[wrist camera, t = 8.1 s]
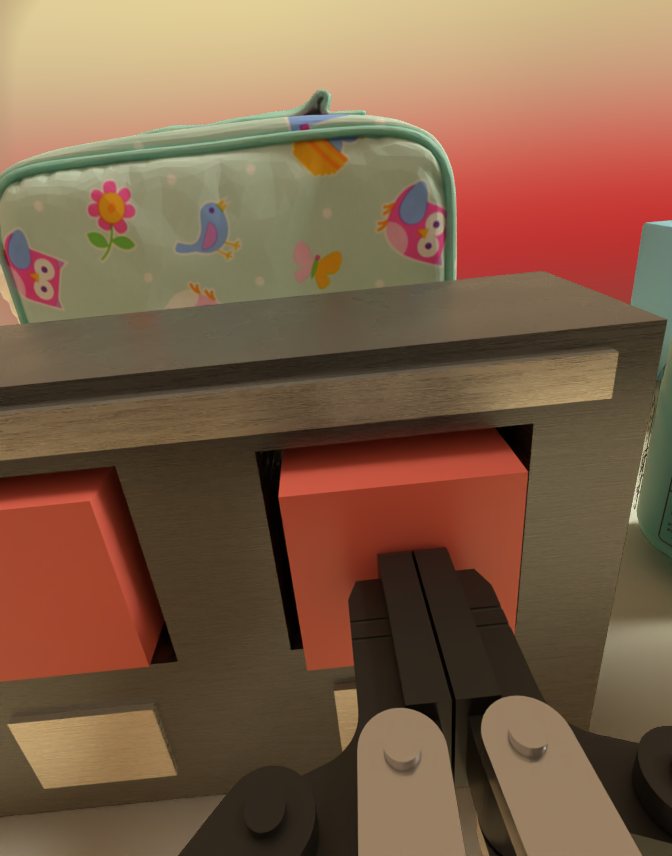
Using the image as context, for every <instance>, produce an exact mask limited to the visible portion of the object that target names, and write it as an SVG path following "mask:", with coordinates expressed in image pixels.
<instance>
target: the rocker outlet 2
mask: <svg viewBox="0 0 672 856" xmlns="http://www.w3.org/2000/svg"><path fill="white" fill-rule="evenodd" d="M527 481H528V471H527V470H526V468H525V467H524V466H523V464H522V463H521V462H520V460H519V459H518V458H517V456H516V455H515V454H514V452H513V451H512V450H511V448H510V447H509V446H508V444H507V443H506V442H505V440H504V439H503V438H502V436H501V435H500V433H499V432H498V431H497V429H496V428H495V427H494V428H484V429H475V430H465V431H455V432H445V433H435V434H425V435H416V436H406V437H396V438H386V439H376V440H366V441H357V442H347V443H337V444H327V445H317V446H307V447H297V448H288V449H283V457H282V467H281V476H280V486H279V496H278V498H279V504H280V510H281V516H282V522H283V528H284V534H285V540H286V546H287V552H288V558H289V564H290V570H291V576H292V582H293V588H294V594H295V600H296V606H297V612H298V618H299V624H300V630H301V636H302V642H303V648H304V654H305V660H306V666H307V671H309V670H319V669H328V668H338V667H348V666H354V660H353V649H352V638H351V628H350V617H349V606H348V599H349V596H350V594H351V592H352V589H353V587H354V585H355V582H356V581H361V580H371V579H378V567H377V554H382V553H392V552H401V551H410V552H411V553H412V550H419V549H428V548H438V547H446V548H447V550H448V552H449V555H450V557H451V560H452V563H453V565H454V568H455V570H465V569H475V570H476V571H477V572H478V573H479V574H481V575H482V576H483V577H484V578H485V579H486V580H487V581H488V582H489V583H490V584H491V585H492V587H493V589H494V591H495V593H496V596H497V598H498V600H499V602H500V604H501V609H503V611H504V613H505V615H506V618H507V620H508V623H509V627H511V629H512V631H513V633H514V635H515V623H516V611H517V600H518V588H519V576H520V564H521V552H522V540H523V529H524V517H525V505H526V493H527Z"/></svg>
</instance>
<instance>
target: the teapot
mask: <svg viewBox="0 0 672 856" xmlns="http://www.w3.org/2000/svg"><path fill="white" fill-rule="evenodd" d="M631 305H632V306H634V307H637V308H640V309H642V310H645V311H647V312H650V313H652V314H655V315H658V316H660V317H663V318H665V319H668V320H667V325H666V331H665V336H664V341H663V346H662V351H661V356H660V362H659V367H658V372H657V377H656V380H658V381H662V376H663V371H665V369H663V367H664V366H665V364H666V362H667V357H668V351H669V346H670V341H671V336H672V220H671V221H659V222H648V223H645V224H644V226H643V229H642V236H641V242H640V248H639V255H638V262H637V267H636V274H635V280H634V286H633V292H632V299H631ZM665 367H666V366H665ZM662 369H663V370H662ZM661 371H662V372H661ZM660 373H661V374H660ZM659 375H660V376H659ZM658 377H659V378H658Z"/></svg>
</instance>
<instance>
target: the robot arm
mask: <svg viewBox="0 0 672 856" xmlns="http://www.w3.org/2000/svg"><path fill="white" fill-rule="evenodd" d="M377 567H378V579H371V580H361V581H356V582H355V585H354V587H353V589H352V592H351V594H350V596H349V599H348V606H349V617H350V628H351V638H352V649H353V660H354V670H355V681H356V692H357V702H358V724H357V728H356V731H355V734H354V736H353V738H352V740H351V742H350V743H349V745H348V746H347V747H346V749H345V750H344V751H343V752H342V753H341V754H340V755H338V756H337V757H336V758H335V759H333V760H332V761H330V762H328V763H326V764H325V765H323V766H320V767H318V768H316V769H314V770H312V771H310V772H308V773H306V774H304V775H302V776H301V775H299V774H298V773H297V772H295V771H294V770H292V769H290V768H287V767H284V766H266V767H261V768H258V769H256V770H254V771H252V772H250V773H248V774H247V775H245V776H244V777H243V778H241V779H240V780H239V781H238V782H237V783H236V784H235V785H234V786H233V787H232V789H231V790H230V791H229V792H228V794H227V795H226V796H225V797H224V799H223V800H222V801H221V802H220V804H219V805H218V806H217V807H216V809H215V810H214V811H213V813H212V814H211V815H210V816H209V818H208V819H207V820H206V821H205V823H204V824H203V825H202V826H201V828H200V829H199V830H198V831H197V833H196V834H195V835H194V836H193V838H192V839H191V840H190V841H189V843H188V844H187V845H186V846H185V848H184V849H183V850H182V851H181V853H180V854H179V855H178V856H466V854H465V848H464V842H463V836H462V830H461V824H460V818H459V812H458V806H457V800H456V794H455V789H454V788H462V787H470V790H471V794H472V797H473V801H474V805H475V809H476V813H477V821H476V831H477V838H478V842H479V845H480V848H481V851H482V854H483V856H672V726H662V727H657V728H654V729H652V730H650V731H649V732H647V733H646V734H645V735H644V736H643V737H642V738H641V741H640V743H635V742H630V741H625V740H621V739H616V738H611V737H606V736H602V735H597V734H593V733H590V732H587V731H584V730H582V729H579V728H578V727H576V726H574V725H572V724H570V723H569V722H567V721H566V720H565V719H564V718H563V717H562V716H561V715H560V714H559V713H558V712H557V711H555V710H554V709H553V708H552V707H550V706H549V705H548V704H547V702H546V701H545V700H544V698H543V696H542V694H541V693H540V691H539V688H538V686H537V684H536V682H535V680H534V677H533V675H532V673H531V671H530V669H529V666H528V664H527V662H526V660H525V657H524V655H523V653H522V651H521V649H520V646H519V644H518V642H517V640H516V638H515V635H514V633H513V631H512V629H511V627H509V623H508V620H507V618H506V615H505V613H504V611H503V609H501V604H500V602H499V600H498V598H497V596H496V593H495V591H494V589H493V587H492V585H491V584H490V583H489V582H488V581H487V580H486V579H485V578H484V577H483V576H482V575H481V574H479V573H478V572H477V571H476V570H475V569H465V570H455V568H454V565H453V563H452V560H451V557H450V555H449V552H448V550H447V548H446V547H438V548H428V549H419V550H412V553H411V552H410V551H401V552H392V553H382V554H377Z"/></svg>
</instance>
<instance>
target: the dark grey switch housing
mask: <svg viewBox="0 0 672 856" xmlns="http://www.w3.org/2000/svg"><path fill="white" fill-rule="evenodd" d="M667 320H668V319H665V318H663V317H660V316H658V315H655V314H652V313H650V312H647V311H645V310H642V309H640V308H637V307H634V306H632V305H629V304H627V303H624V302H622V301H619V300H616V299H614V298H611V297H609V296H606V295H603V294H601V293H598V292H596V291H593V290H591V289H588V288H586V287H583V286H580V285H578V284H575V283H573V282H570V281H568V280H565V279H562V278H560V277H557V276H555V275H552V274H549V273H547V272H544V271H540V272H530V273H520V274H510V275H501V276H490V277H481V278H471V279H461V280H451V281H441V282H431V283H421V284H412V285H402V286H392V287H382V288H372V289H362V290H352V291H342V292H333V293H323V294H313V295H303V296H293V297H283V298H273V299H264V300H254V301H244V302H234V303H224V304H214V305H204V306H195V307H185V308H175V309H165V310H155V311H145V312H135V313H125V314H116V315H106V316H96V317H86V318H76V319H66V320H56V321H47V322H37V323H27V324H17V325H7V326H0V478H2V477H12V476H22V475H32V474H42V473H51V472H61V471H71V470H81V469H91V468H101V467H110V466H115V467H116V470H117V474H118V477H119V480H120V483H121V486H122V489H123V492H124V495H125V498H126V501H127V505H128V508H129V511H130V514H131V517H132V520H133V523H134V526H135V529H136V532H137V536H138V539H139V542H140V545H141V548H142V551H143V554H144V557H145V560H146V564H147V567H148V570H149V573H150V576H151V579H152V582H153V585H154V588H155V591H156V595H157V598H158V601H159V604H160V607H161V610H162V613H163V616H164V619H165V621H164V624H163V627H162V630H161V633H160V636H159V639H158V642H157V645H156V648H155V651H154V654H153V657H152V660H151V663H150V666H149V667H140V668H130V669H120V670H110V671H100V672H91V673H81V674H71V675H61V676H51V677H42V678H32V679H22V680H12V681H2V682H0V817H2V816H12V815H21V814H31V813H41V812H51V811H61V810H70V809H80V808H90V807H100V806H110V805H119V804H129V803H139V802H149V801H159V800H168V799H178V798H188V797H198V796H208V795H217V794H227V793H228V792H229V791H230V790H231V789H232V787H233V786H234V785H235V784H236V783H237V782H238V781H239V780H240V779H241V778H243V777H244V776H245V775H247V774H248V773H250V772H252V771H254V770H256V769H258V768H261V767H266V766H284V767H287V768H290V769H292V770H294V771H295V772H297V773H298V774H299V775H301V776H302V775H304V774H306V773H308V772H310V771H312V770H314V769H316V768H318V767H320V766H323V765H325V764H326V763H328V762H330V761H332V760H333V759H335V758H336V757H337V756H338V755H340V754H341V753H342V752H343V751H344V750H345V749H346V747H347V746H348V745H349V743H350V742H351V740H352V738H353V736H354V734H355V731H356V728H357V724H358V702H357V692H356V681H355V670H354V666H348V667H338V668H328V669H319V670H309V671H307V666H306V660H305V654H304V648H303V642H302V636H301V630H300V624H299V618H298V612H297V606H296V600H295V594H294V588H293V582H292V576H291V570H290V564H289V558H288V552H287V546H286V540H285V534H284V528H283V522H282V516H281V510H280V504H279V498H278V496H279V486H280V476H281V467H282V457H283V449H288V448H297V447H307V446H317V445H327V444H337V443H347V442H357V441H366V440H376V439H386V438H396V437H406V436H416V435H425V434H435V433H445V432H455V431H465V430H475V429H484V428H494V427H495V428H496V429H497V431H498V432H499V433H500V435H501V436H502V438H503V439H504V440H505V442H506V443H507V444H508V446H509V447H510V448H511V450H512V451H513V452H514V454H515V455H516V456H517V458H518V459H519V460H520V462H521V463H522V464H523V466H524V467H525V468H526V470H527V471H528V481H527V493H526V505H525V517H524V529H523V540H522V552H521V564H520V576H519V588H518V600H517V611H516V623H515V638H516V640H517V642H518V644H519V646H520V649H521V651H522V653H523V655H524V657H525V660H526V662H527V664H528V666H529V669H530V671H531V673H532V675H533V677H534V680H535V682H536V684H537V686H538V688H539V691H540V693H541V694H542V696H543V698H544V700H545V701H546V702H547V704H548V705H549V706H550V707H552V708H553V709H554V710H555V711H557V712H558V713H559V714H560V715H561V716H562V717H563V718H564V719H565V720H566V721H567V722H569V723H570V724H572V725H574V726H576V727H578V728H579V729H582V730H584V731H587V732H588V729H589V724H590V719H591V714H592V708H593V703H594V698H595V693H596V688H597V683H598V677H599V672H600V667H601V662H602V657H603V652H604V646H605V641H606V636H607V631H608V626H609V620H610V615H611V610H612V605H613V600H614V595H615V589H616V584H617V579H618V574H619V569H620V563H621V558H622V553H623V548H624V543H625V538H626V532H627V527H628V522H629V517H630V512H631V507H632V501H633V496H634V491H635V486H636V481H637V475H638V470H639V465H640V460H641V455H642V450H643V444H644V439H645V434H646V429H647V424H648V419H649V413H650V408H651V403H652V398H653V393H654V387H655V382H656V377H657V372H658V367H659V362H660V356H661V351H662V346H663V341H664V336H665V331H666V325H667Z"/></svg>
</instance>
